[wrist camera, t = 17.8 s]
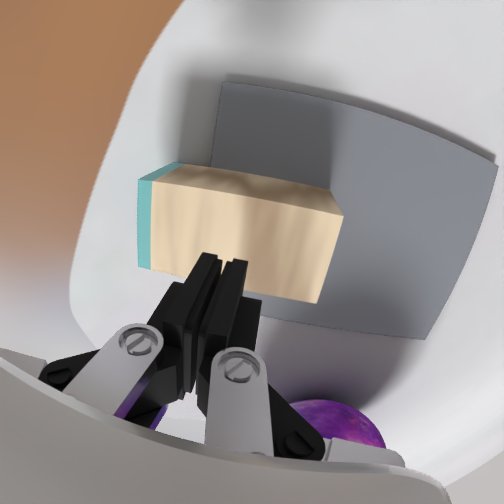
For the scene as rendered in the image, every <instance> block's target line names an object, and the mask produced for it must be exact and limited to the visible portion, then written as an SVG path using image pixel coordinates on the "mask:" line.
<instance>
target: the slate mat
mask: <svg viewBox="0 0 504 504" xmlns="http://www.w3.org/2000/svg"><path fill="white" fill-rule="evenodd" d="M210 167H212V168H219V169H225V170H232V171H238V172H243V173H249V174H255V175H260V176H266V177H271V178H276V179H281V180H286V181H291V182H296V183H301V184H306V185H310V186H315V187H319V188H324V189H328V190H330V191H331V193H332V195H333V197H334V199H335V201H336V202H337V204H338V206H339V208H340V210H341V212H342V214H343V216H344V217H343V221H342V224H341V228H340V231H339V235H338V238H337V242H336V245H335V248H334V251H333V255H332V258H331V261H330V264H329V267H328V271H327V274H326V277H325V280H324V283H323V286H322V289H321V292H320V295H319V298H318V301H317V303H316V304H315V303H310V302H304V301H299V300H293V299H288V298H282V297H277V296H272V295H267V294H262V293H256V292H251V291H246V290H243V296H244V297H249V298H254V299H259V300H262V306H261V312H260V316H265V317H270V318H275V319H281V320H286V321H292V322H298V323H304V324H309V325H316V326H322V327H328V328H334V329H341V330H348V331H355V332H362V333H369V334H377V335H385V336H393V337H402V338H411V339H421V340H425V339H426V337H427V335H428V334H429V332H430V330H431V329H432V327H433V325H434V324H435V322H436V320H437V318H438V317H439V315H440V313H441V311H442V309H443V308H444V306H445V304H446V302H447V300H448V298H449V296H450V294H451V292H452V290H453V288H454V286H455V284H456V282H457V280H458V278H459V276H460V274H461V272H462V269H463V267H464V265H465V263H466V260H467V258H468V256H469V253H470V251H471V249H472V246H473V244H474V241H475V239H476V236H477V234H478V231H479V228H480V226H481V223H482V220H483V217H484V214H485V211H486V208H487V205H488V202H489V199H490V196H491V192H492V189H493V186H494V182H495V178H496V175H497V171H498V167H499V166H498V165H496V164H494V163H493V162H491V161H489V160H487V159H485V158H483V157H481V156H479V155H478V154H476V153H474V152H472V151H470V150H468V149H466V148H463V147H461V146H459V145H457V144H455V143H453V142H451V141H448V140H446V139H444V138H442V137H439V136H437V135H435V134H432V133H430V132H427V131H425V130H422V129H420V128H417V127H415V126H412V125H410V124H407V123H404V122H401V121H399V120H396V119H393V118H390V117H387V116H384V115H381V114H378V113H375V112H372V111H368V110H365V109H362V108H358V107H355V106H351V105H348V104H344V103H340V102H336V101H332V100H328V99H324V98H320V97H316V96H311V95H307V94H302V93H297V92H292V91H287V90H281V89H275V88H269V87H263V86H256V85H249V84H241V83H232V82H223V83H222V89H221V95H220V101H219V107H218V114H217V121H216V127H215V134H214V141H213V149H212V156H211V164H210Z"/></svg>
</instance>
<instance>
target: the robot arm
mask: <svg viewBox="0 0 504 504" xmlns="http://www.w3.org/2000/svg"><path fill="white" fill-rule="evenodd" d="M222 264H223V260H221V259H218V255H216V254H211V253H206V252H202V254H201V255H200V257H199V259H198V260H197V262H196V264H195V265H194V267H193V269H192V270H191V272H190V274H189V276H188V277H187V279H186V281H185V282H184V283H179V282H173V283H172V284H171V286H170V287H169V289H168V290H167V292H166V293H165V295H164V297H163V298H162V300H161V301H160V303H159V305H158V306H157V308H156V309H155V311H154V313H153V314H152V316H151V318H150V319H149V321H148V322H147V324H138V323H136V324H130V325H127V326H125V327H122V328H121V329H120V330H119V331H117V332H116V333H115V335H114V336H113V337H112V338H111V339H110V340H109V341H108V342H107V343H106V344H105V345H104V346H103V347H102V348H101V349H99V350H95V351H91V352H88V353H84V354H80V355H76V356H72V357H68V358H64V359H60V360H56V361H54V362H51V363H49V364H47V362H46V360H43V359H39V358H35V357H32V356H27V355H24V354H21V353H17V352H14V351H10V350H7V349H2V348H0V504H452V503H451V500H450V498H449V495H448V493H447V491H446V489H445V488H444V487H443V485H442V484H441V483H440V482H439V481H437V480H436V479H434V478H432V477H431V476H429V475H426V474H424V473H421V472H418V471H415V470H412V469H408V468H405V462H404V460H403V459H402V457H401V456H400V455H399V454H398V453H397V452H395V451H392V450H390V449H385V448H379V447H374V446H369V445H364V444H360V443H355V442H351V441H347V440H343V439H339V438H335V437H333V438H332V440H330V439H326V438H323V437H322V436H321V434H320V433H319V432H318V431H317V430H316V429H315V428H314V427H313V426H312V425H311V424H309V423H308V422H307V421H306V420H305V419H304V418H303V417H302V416H301V415H300V414H299V413H298V412H297V411H296V410H295V409H294V408H293V407H292V406H290V405H289V404H288V403H287V402H286V401H285V400H284V399H283V398H282V397H281V396H280V395H279V394H278V393H277V392H276V391H275V390H274V389H273V388H272V387H271V386H270V385H269V384H268V381H267V369H266V365H265V362H264V361H263V359H262V358H261V357H260V356H259V355H258V354H256V353H255V352H254V350H255V344H256V338H257V331H258V325H259V319H260V312H261V306H262V300H259V299H254V298H249V297H244V296H243V290H244V284H245V279H246V273H247V267H248V261H246V260H241V259H236V258H233V260H232V262H231V261H227V262H226V264H225V266H224V269H223V271H222ZM221 272H222V274H221ZM195 381H196V395H197V406H198V407H199V409H200V410H201V411H202V413H203V414H204V415H205V417H206V429H205V443H204V444H201V443H197V442H193V441H189V440H185V439H181V438H178V437H174V436H171V435H167V434H164V433H161V432H158V431H155V429H156V427H157V425H158V424H159V422H160V421H161V419H162V417H163V416H164V414H165V412H166V410H167V408H168V404H169V403H172V402H174V401H177V400H178V399H181V400H183V398H184V396H185V393H186V392H189V393H191V392H192V390H193V387H194V384H195Z"/></svg>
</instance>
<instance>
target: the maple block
mask: <svg viewBox="0 0 504 504" xmlns="http://www.w3.org/2000/svg"><path fill="white" fill-rule="evenodd" d="M343 217H344V216H343V214H342V212H341V210H340V208H339V206H338V204H337V202H336V201H335V199H334V197H333V195H332V193H331V191H330V190H328V189H324V188H319V187H315V186H310V185H306V184H301V183H296V182H291V181H286V180H281V179H276V178H271V177H266V176H260V175H255V174H249V173H243V172H238V171H232V170H225V169H219V168H212V167H206V166H199V165H192V164H184V163H176V162H173V163H171V164H169V165H167V166H165V167H163V168H160V169H158V170H156V171H154V172H152V173H150V174H148V175H146V176H144V177H142V178H140V179H138V198H137V246H138V267H142V268H146V269H150V270H154V271H159V272H163V273H167V274H172V275H176V276H180V277H185V278H187V277H188V276H189V274H190V272H191V270H192V269H193V267H194V265H195V264H196V262H197V260H198V259H199V257H200V255H201V254H202V252H206V253H211V254H216V255H218V259H221V260H223V264H222V271H223V269H224V266H225V264H226V262H227V261H231V262H232V260H233V258H236V259H241V260H246V261H248V267H247V273H246V279H245V284H244V290H246V291H251V292H256V293H262V294H267V295H272V296H277V297H282V298H288V299H293V300H299V301H304V302H310V303H315V304H316V303H317V301H318V298H319V295H320V292H321V289H322V286H323V283H324V280H325V277H326V274H327V271H328V267H329V264H330V261H331V258H332V255H333V251H334V248H335V245H336V242H337V238H338V235H339V231H340V228H341V224H342V221H343ZM221 274H222V272H221Z"/></svg>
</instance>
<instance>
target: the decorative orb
mask: <svg viewBox="0 0 504 504" xmlns="http://www.w3.org/2000/svg"><path fill="white" fill-rule="evenodd" d="M289 405H290V406H292V407H293V408H294V409H295V410H296V411H297V412H298V413H299V414H300V415H301V416H302V417H303V418H304V419H305V420H306V421H307V422H308V423H309V424H311V425H312V426H313V427H314V428H315V429H316V430H317V431H318V432H319V433H320V434H321V436H322V437H323V438H326V439H330V440H332V438H333V437H335V438H339V439H343V440H347V441H351V442H355V443H360V444H364V445H369V446H374V447H379V448H385V449H386V446H385V443H384V440H383V438H382V436H381V434H380V432H379V430H378V429H377V428H376V426H375V425H374V424H373V423H372V422H371V421H370V420H369V419H368V418H367V417H366V416H365V415H364V414H362V413H361V412H359V411H358V410H356V409H354V408H352V407H350V406H348V405H345V404H342V403H339V402H335V401H330V400H320V399H312V400H302V401H297V402H293V403H289Z"/></svg>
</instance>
